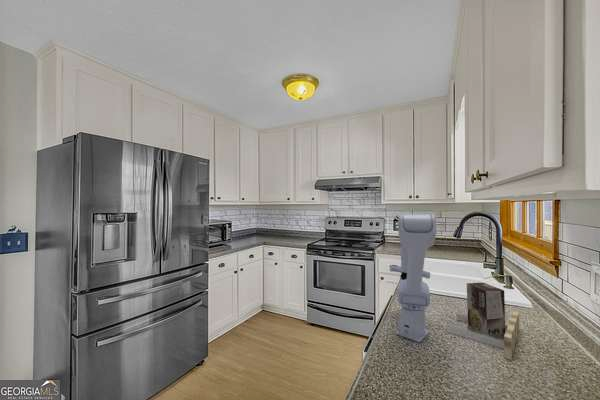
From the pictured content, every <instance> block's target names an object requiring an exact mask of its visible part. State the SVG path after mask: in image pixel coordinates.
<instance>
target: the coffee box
mask: <svg viewBox="0 0 600 400" xmlns="http://www.w3.org/2000/svg"><path fill="white" fill-rule="evenodd" d="M505 298H506V297H505V290H504V289H501V288H498V287H497V286H496V287H495V286H493V285H491V284H488V283H485V282H466V303H467V304H466V305H467V315H468V323H467V329H470V330H473V331H477V332H480V333H484V334H487V335H491V336H494V337H498V338H501V339H504V335H505V325H506V307H505V305H506V303H505V301H506V299H505Z"/></svg>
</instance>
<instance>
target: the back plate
mask: <svg viewBox="0 0 600 400" xmlns="http://www.w3.org/2000/svg"><path fill="white" fill-rule="evenodd" d="M507 325H508V327H507V330H506V333H505V335H504V349H503V350H504V351H503V353H504V355H503V356H504V359H506V360H510V361H512V360H513V355H514V351H515V348H516V344H517V341H518V336H519V334H520V312H518V311H515V310H513V311H512V314H511V316H510V319H509V321H508V324H507Z"/></svg>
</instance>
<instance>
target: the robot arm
mask: <svg viewBox="0 0 600 400" xmlns="http://www.w3.org/2000/svg"><path fill="white" fill-rule="evenodd" d="M397 230H398V240H399V242H400V243H399V244H400V263H401V264H400V265H399V266H398V265H390V266H389V270H390V272H394V273H395V272H397V273H401V274H400V275H399V277H400V279H401V280H399V281H398V284H397V286H396V288H397V289H396V294H397V296H396V297H397V303H398V305H401V310H400V312H399V313H398V315H397V330H396V331H395V335H397V336H401V337H403V338H406V339H409V340H412V341H414V342H417V343H421V342H422V341H423V340H424V339H425V337H427V336H428V335H429V333H430V332H431V331H430V330H429V329H427V328H426V313H425V312H426V309H427V308H429V306H430V305H431V299H430V297H431V296H430V295H431V291H430V288H429V287H430V286H429V285H428V283H427V282H424V281H423V278H425V279H428V280H429V279H430V278H431V272H429V271H425V270H424V266H425V259H426V255H427V251H428V249H429V248H431V247H433V246H434V243H435V242H436V237H437V220H436V216H435V215H434V214H433V213H430V214H428V213H427V214H424V213H423V214H422V213H421V214H416V213H414V214H410V213H409V214H407V213H406V214H405V213H404V214H403V213H399V215H398V216H397Z"/></svg>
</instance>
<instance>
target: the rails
mask: <svg viewBox="0 0 600 400" xmlns="http://www.w3.org/2000/svg"><path fill="white" fill-rule="evenodd" d="M455 315H456V316H455V318H456V321H457V322H463V323H464V324H465V323H466V324H468V314H464V313H461V312H456V313H455ZM507 327H508V324H505V333H506V330H507ZM446 332H447V333H449V334H453V335H456V336H458V337H459V336H460V337H463V338H466V339H468V340H472V341H475V342H479V343H482V344H484V345H485V344H486V345H489V346H492V347H495V348H498V349H502V350H504V339H501V338H498V337H494V336H491V335H487V334H484V333H480V332H477V331H473V330H470V329H468V328H466V327H464V326H463V327H462V326H458V325H455V324H452V323H449V322H448V323H447V324H446Z"/></svg>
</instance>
